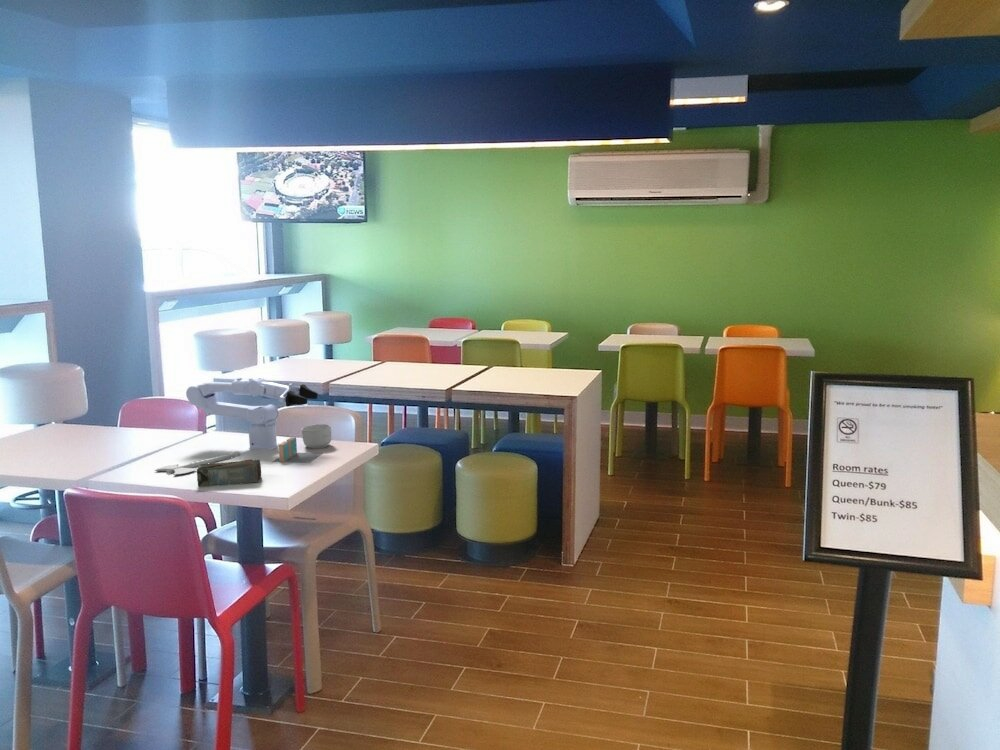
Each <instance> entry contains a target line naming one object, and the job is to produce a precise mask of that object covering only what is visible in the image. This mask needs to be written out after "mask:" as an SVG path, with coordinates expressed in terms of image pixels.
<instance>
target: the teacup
mask: <svg viewBox="0 0 1000 750" xmlns="http://www.w3.org/2000/svg"><path fill="white" fill-rule="evenodd" d="M300 430H301V436H302V441H303V444H304V446H305V447H307V448H309V449H324V448H326V447H328V446H329V444H330V443H331V442H332V426H331V424H328V423H321V424H320V423H315V424H310V425H305V426H303V427H302V428H300Z"/></svg>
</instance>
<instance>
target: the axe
mask: <svg viewBox="0 0 1000 750" xmlns="http://www.w3.org/2000/svg"><path fill="white" fill-rule="evenodd" d="M240 453H241V452H239V451H238V450H235V451H233V452H230V453H226V454H221V455H217V456H216V457H215V456H214V457H212V458H206V459H203V460H198V461H193V462H189V463H186V464H182V465H179V464H171V465H166V466H161V467H159V468H156V469H154V471H155V472H166V473H167V474H168V473H170V474H172V475H173V476H176V475H184V474H188V473H192V472H194V471H195V472H196V471H197V469H198V467H199V465H200V464H208V463H210V464H212V462H214V463H217V462H216V461H218V462H222V461H224V460H223V459H226V460H228V459H227V458H230V459H232V458H231V457H233V458H235V457H238V456H241V454H240ZM221 460H222V461H221ZM197 466H198V467H197ZM172 472H174V473H172Z"/></svg>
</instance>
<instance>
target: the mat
mask: <svg viewBox="0 0 1000 750" xmlns="http://www.w3.org/2000/svg"><path fill="white" fill-rule="evenodd" d="M322 455H324V453H323V452H297V454H295V455H294V456H292V457H289V459H287V460H286V461H284V462H283V461H279V456H278V457H277V458H275V459H274V460H271V463H289V464H290V463H293V464H294V463H295V464H297V463H300V464H305V463H306V464H310V463H312V462H313V461H315V460H316V459H317V458H319V457H321V456H322Z"/></svg>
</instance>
